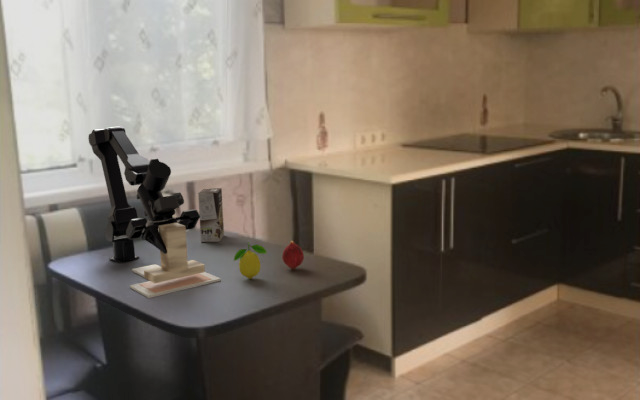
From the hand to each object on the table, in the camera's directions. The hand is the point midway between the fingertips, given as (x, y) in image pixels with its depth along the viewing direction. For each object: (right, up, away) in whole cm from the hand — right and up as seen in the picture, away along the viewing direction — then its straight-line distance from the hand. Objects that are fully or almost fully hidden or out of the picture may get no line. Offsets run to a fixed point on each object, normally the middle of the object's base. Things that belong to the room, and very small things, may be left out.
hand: (175, 250), depth 170 cm
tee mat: (-5, -8, +8) cm, 12 cm away
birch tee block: (-1, -6, +2) cm, 7 cm away
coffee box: (+1, 0, +50) cm, 50 cm away
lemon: (+19, -8, +5) cm, 21 cm away
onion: (+29, -6, +13) cm, 33 cm away
